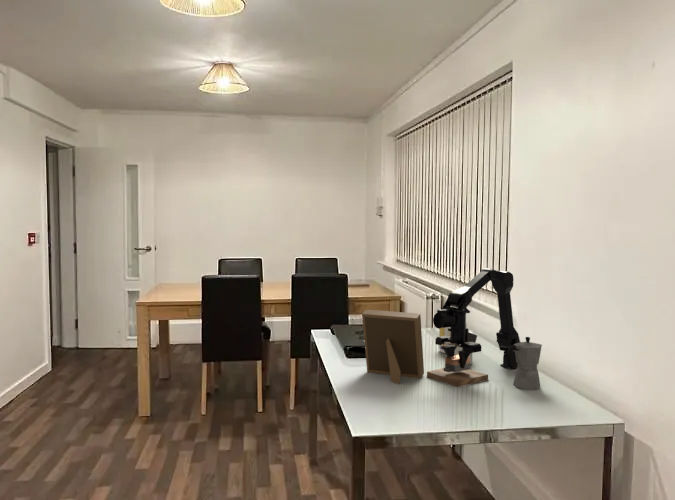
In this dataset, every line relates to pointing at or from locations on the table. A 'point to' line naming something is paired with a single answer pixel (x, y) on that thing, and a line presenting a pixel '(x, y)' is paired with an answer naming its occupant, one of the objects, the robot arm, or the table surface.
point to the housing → (455, 364)
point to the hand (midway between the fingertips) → (457, 366)
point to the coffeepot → (526, 364)
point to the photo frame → (393, 343)
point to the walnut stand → (457, 377)
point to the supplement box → (461, 350)
